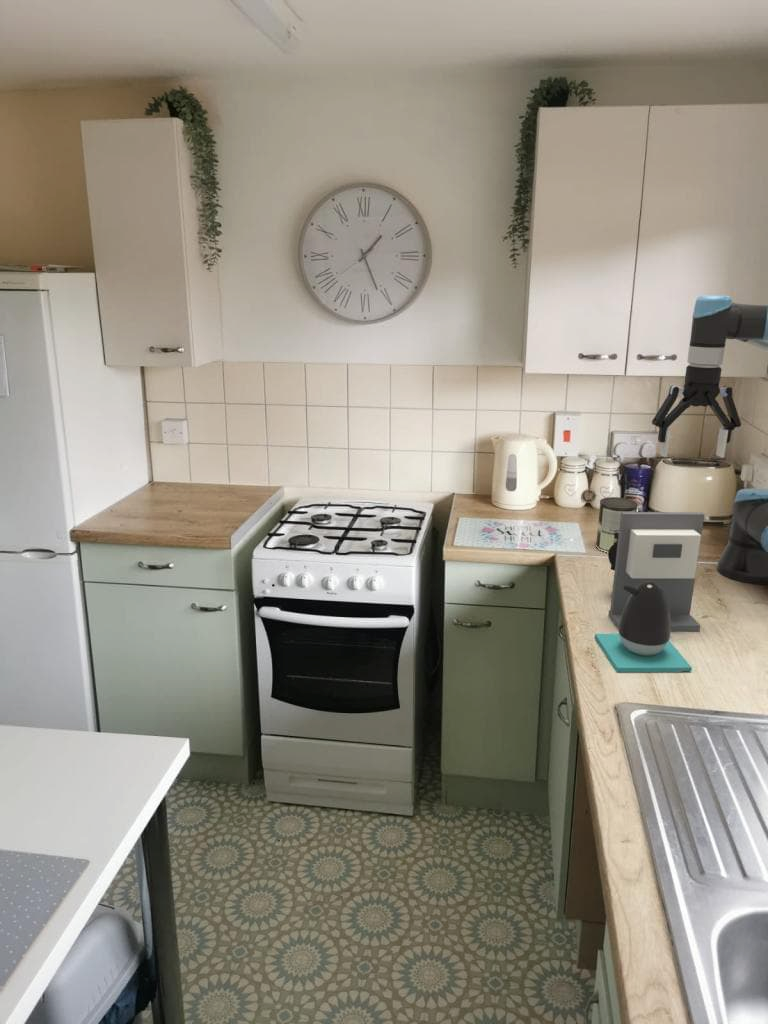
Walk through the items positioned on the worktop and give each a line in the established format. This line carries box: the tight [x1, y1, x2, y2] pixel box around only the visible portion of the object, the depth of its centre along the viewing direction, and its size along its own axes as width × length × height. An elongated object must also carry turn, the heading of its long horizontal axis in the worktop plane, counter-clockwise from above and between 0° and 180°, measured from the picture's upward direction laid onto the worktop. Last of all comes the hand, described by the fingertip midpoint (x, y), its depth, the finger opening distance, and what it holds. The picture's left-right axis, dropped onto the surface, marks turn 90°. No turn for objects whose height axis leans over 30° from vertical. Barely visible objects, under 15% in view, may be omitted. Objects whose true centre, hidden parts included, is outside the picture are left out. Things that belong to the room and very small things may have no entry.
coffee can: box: [595, 496, 639, 552], centre depth 218 cm, size 10×10×14 cm
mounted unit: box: [607, 511, 705, 633], centre depth 169 cm, size 18×8×26 cm, turn 92°
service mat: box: [594, 633, 693, 673], centre depth 159 cm, size 15×15×1 cm
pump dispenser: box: [617, 581, 672, 656], centre depth 156 cm, size 10×10×15 cm
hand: (691, 456), depth 181 cm, fingers open, 13 cm apart
